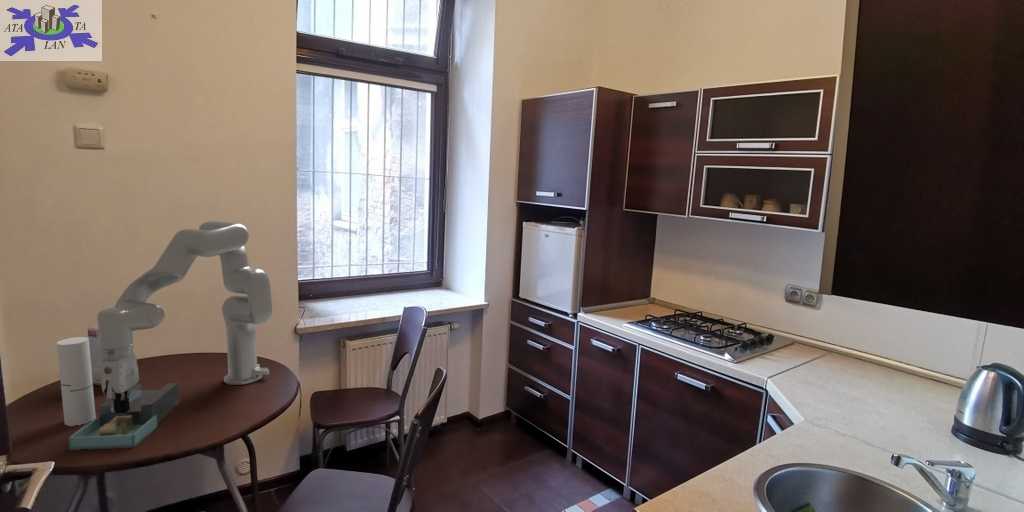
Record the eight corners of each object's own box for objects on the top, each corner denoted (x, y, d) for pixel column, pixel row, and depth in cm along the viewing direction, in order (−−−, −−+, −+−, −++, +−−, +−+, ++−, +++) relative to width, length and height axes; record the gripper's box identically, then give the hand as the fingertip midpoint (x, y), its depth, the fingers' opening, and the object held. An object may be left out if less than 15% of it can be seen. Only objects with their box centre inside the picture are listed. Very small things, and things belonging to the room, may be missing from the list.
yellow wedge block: (126, 434, 145) (133, 428, 148) (125, 421, 144) (131, 415, 148) (110, 436, 144) (117, 429, 147) (109, 422, 143) (115, 416, 147)
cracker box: (136, 384, 180) (132, 327, 177) (118, 390, 175) (114, 332, 172) (109, 378, 185) (105, 322, 182) (91, 384, 179) (86, 327, 176)
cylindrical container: (76, 415, 157) (69, 337, 153) (101, 415, 157) (94, 337, 154) (58, 426, 150) (50, 344, 146) (84, 426, 150) (76, 344, 147)
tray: (157, 426, 151) (156, 415, 151) (134, 447, 140) (133, 435, 139) (97, 428, 149) (96, 417, 148) (69, 450, 137) (67, 438, 137)
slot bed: (179, 403, 167) (178, 383, 166) (153, 426, 151) (152, 404, 150) (132, 404, 165) (130, 384, 164) (101, 428, 149) (99, 406, 148)
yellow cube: (115, 428, 140) (117, 442, 141) (122, 422, 144) (123, 435, 144) (98, 430, 139) (99, 443, 139) (105, 423, 143) (107, 436, 143)
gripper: (116, 360, 138) (121, 423, 141) (146, 342, 153) (150, 400, 155) (85, 360, 137) (91, 424, 140) (118, 343, 151) (122, 401, 154)
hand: (122, 411), depth 147 cm, fingers closed
